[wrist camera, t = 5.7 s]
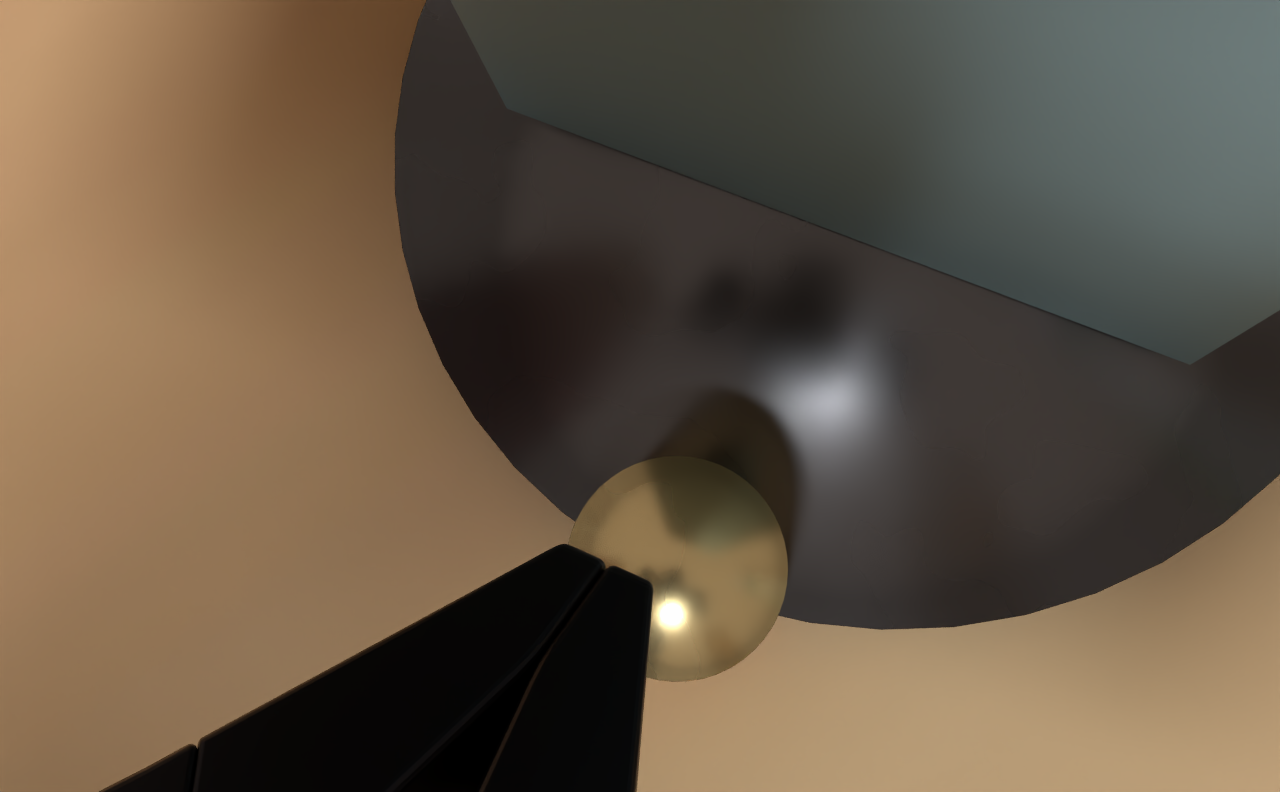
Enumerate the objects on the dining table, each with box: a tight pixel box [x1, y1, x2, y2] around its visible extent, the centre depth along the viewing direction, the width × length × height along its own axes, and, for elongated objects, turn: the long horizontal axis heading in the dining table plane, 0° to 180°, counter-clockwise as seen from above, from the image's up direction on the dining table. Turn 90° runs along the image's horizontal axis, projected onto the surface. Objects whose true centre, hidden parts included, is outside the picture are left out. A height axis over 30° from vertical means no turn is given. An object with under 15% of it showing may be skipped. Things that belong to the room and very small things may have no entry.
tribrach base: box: [395, 0, 1280, 682], centre depth 16 cm, size 15×15×2 cm
